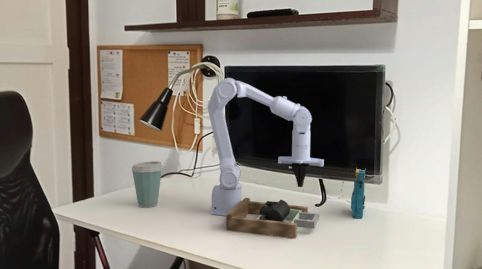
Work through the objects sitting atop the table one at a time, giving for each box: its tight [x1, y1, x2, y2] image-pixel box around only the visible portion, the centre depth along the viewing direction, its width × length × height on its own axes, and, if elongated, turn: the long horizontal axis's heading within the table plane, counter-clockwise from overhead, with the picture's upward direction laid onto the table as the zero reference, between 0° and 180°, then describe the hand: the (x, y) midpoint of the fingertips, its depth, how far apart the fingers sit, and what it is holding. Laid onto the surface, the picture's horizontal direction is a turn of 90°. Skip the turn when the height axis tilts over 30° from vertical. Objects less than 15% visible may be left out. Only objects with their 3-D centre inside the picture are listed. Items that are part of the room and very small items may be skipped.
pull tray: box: [256, 209, 320, 229], centre depth 154 cm, size 17×14×4 cm
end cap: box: [260, 199, 290, 222], centre depth 156 cm, size 10×7×7 cm
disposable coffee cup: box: [131, 160, 164, 208], centre depth 175 cm, size 11×11×15 cm
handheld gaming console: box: [350, 168, 366, 220], centre depth 165 cm, size 10×4×15 cm, turn 164°
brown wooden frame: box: [225, 197, 309, 239], centre depth 156 cm, size 21×18×5 cm
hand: (300, 186), depth 165 cm, fingers closed
